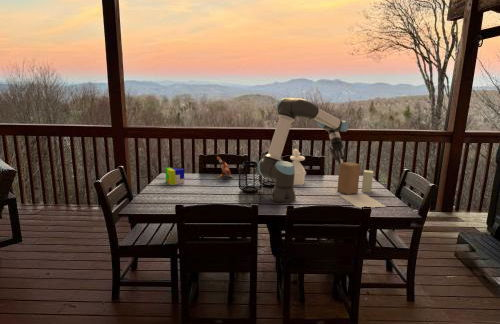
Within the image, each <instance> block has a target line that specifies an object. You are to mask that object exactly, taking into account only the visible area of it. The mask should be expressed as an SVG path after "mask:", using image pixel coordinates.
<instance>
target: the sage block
mask: <svg viewBox="0 0 500 324" xmlns="http://www.w3.org/2000/svg"><path fill="white" fill-rule="evenodd" d="M373 177H374V170H368V169H364V170H363V175H362V185H361V192H363V193H369V194H370V193H372V188H373Z"/></svg>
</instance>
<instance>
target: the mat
mask: <svg viewBox="0 0 500 324" xmlns="http://www.w3.org/2000/svg"><path fill="white" fill-rule="evenodd" d="M339 197H341V198H342V199H343V200H345V201H347V202H348V203H350V204H351V205H352V206H354V207H355V208H357V207H360V208H361V207H364V206H367V207H371V208H370V209H376V208H375V207H381V208H387V206H386V205H385V204H382V202H379V201H378V200H376V199H374V198H372V197H370V196H369V195H367V194H349V195H347V194H345V195H344V194H342V195H341V194H340V195H339Z"/></svg>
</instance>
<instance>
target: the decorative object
mask: <svg viewBox="0 0 500 324" xmlns="http://www.w3.org/2000/svg"><path fill="white" fill-rule="evenodd" d="M292 153H293V155H291V156H290V157H289V158H290V160H291V161H292V162H291V163H292V164H293V165H294V167H295V168H294V169H295V174H294V186H302V185H304V184H305V177H306V175H307V171H306V170H305V168H304V167H303V164H302V163H301V161H302V162H303V161H305V160H306V157H305V156H303V155H301V154H302V153H301V152H300V151H299V149H297V148H294V149H293V150H292Z"/></svg>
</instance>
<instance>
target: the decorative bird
mask: <svg viewBox="0 0 500 324" xmlns="http://www.w3.org/2000/svg"><path fill="white" fill-rule="evenodd" d="M216 160H218V162H219V163H220V168H221V171H222V173H221V174H220V175H217V178H218V179H220V178H221V177H224V176H225V175H228V176H229V178H232V177H233V178H234V176H233V175H232V172H231V170H230V167H229V165H228V164H227V162H226V161H224V160H222V159H221V157H220V156H218V155H216ZM233 178H232V179H233Z"/></svg>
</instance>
